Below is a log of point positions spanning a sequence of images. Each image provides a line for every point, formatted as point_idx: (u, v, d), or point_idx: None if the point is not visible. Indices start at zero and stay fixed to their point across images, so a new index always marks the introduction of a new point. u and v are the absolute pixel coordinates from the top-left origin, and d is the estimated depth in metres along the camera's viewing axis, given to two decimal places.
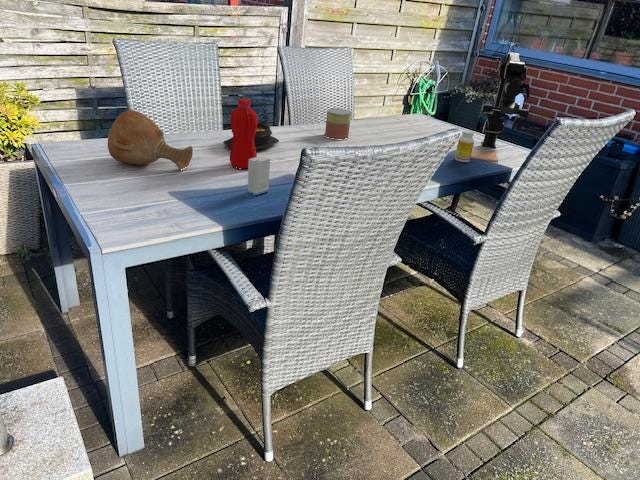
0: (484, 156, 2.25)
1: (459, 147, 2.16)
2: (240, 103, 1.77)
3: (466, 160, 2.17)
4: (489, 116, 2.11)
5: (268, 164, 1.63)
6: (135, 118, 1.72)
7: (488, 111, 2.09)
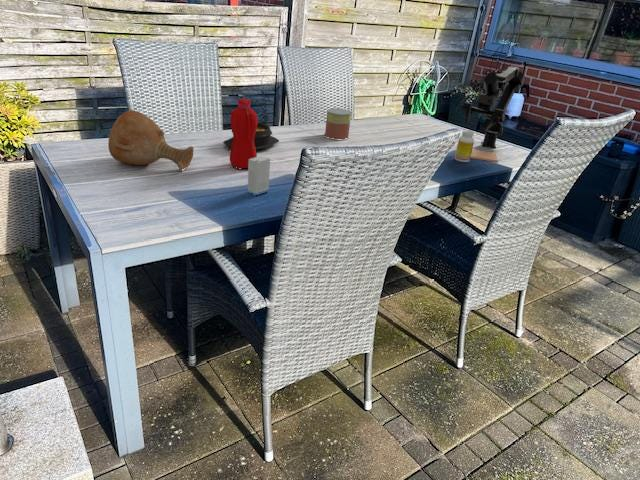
0: (484, 156, 2.25)
1: (459, 147, 2.16)
2: (240, 103, 1.77)
3: (466, 160, 2.17)
4: (467, 111, 2.22)
5: (268, 164, 1.63)
6: (136, 119, 1.72)
7: (467, 105, 2.22)
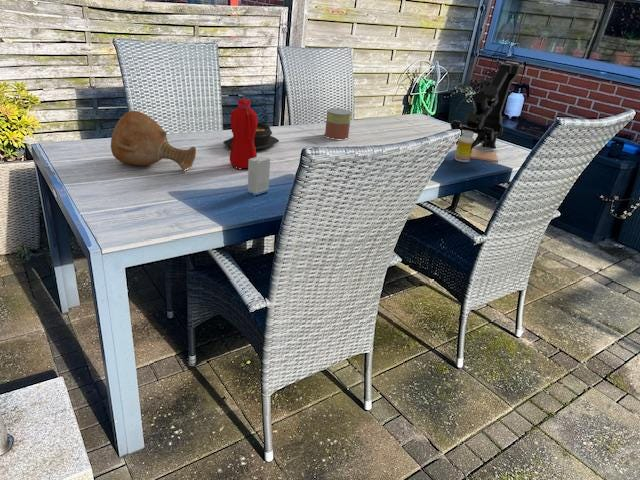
0: (484, 156, 2.25)
1: (459, 147, 2.16)
2: (240, 103, 1.77)
3: (466, 160, 2.17)
4: None
5: (268, 164, 1.63)
6: (138, 119, 1.71)
7: (456, 123, 2.18)
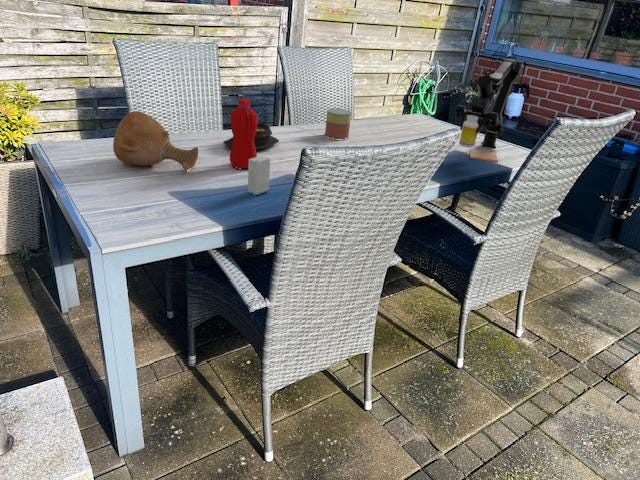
0: (484, 156, 2.25)
1: (464, 132, 2.13)
2: (240, 103, 1.77)
3: (471, 145, 2.15)
4: (463, 115, 2.15)
5: (268, 164, 1.63)
6: (140, 119, 1.71)
7: (460, 108, 2.16)
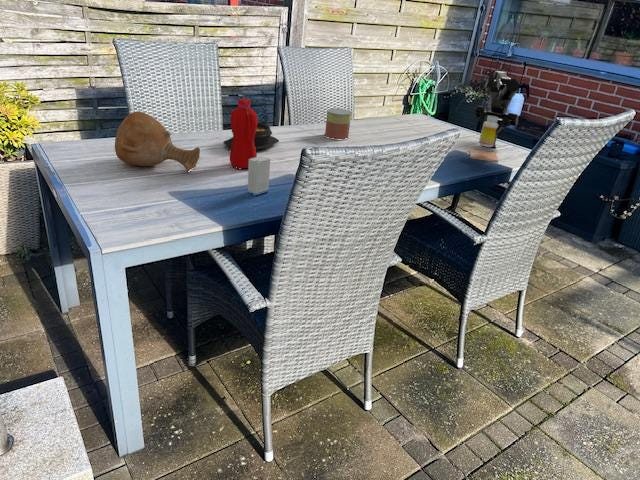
0: (484, 156, 2.25)
1: (484, 132, 2.22)
2: (240, 103, 1.77)
3: (490, 145, 2.23)
4: (483, 115, 2.24)
5: (268, 164, 1.63)
6: (142, 120, 1.71)
7: (480, 109, 2.24)
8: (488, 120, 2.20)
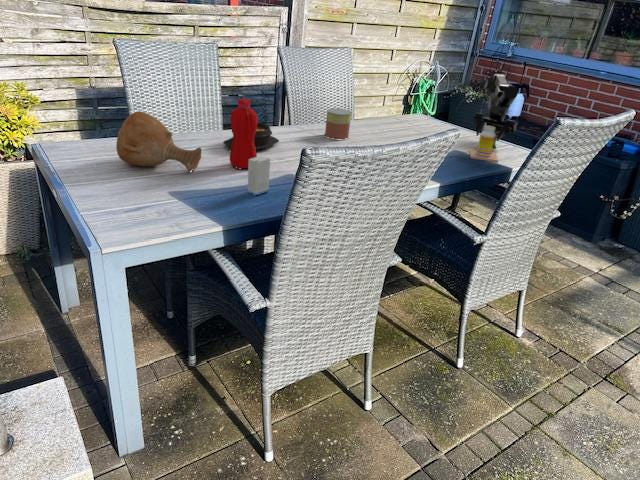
0: (484, 156, 2.25)
1: (481, 142, 2.24)
2: (240, 103, 1.77)
3: (488, 154, 2.25)
4: (479, 122, 2.26)
5: (268, 164, 1.63)
6: (144, 120, 1.71)
7: (478, 116, 2.25)
8: (485, 130, 2.22)
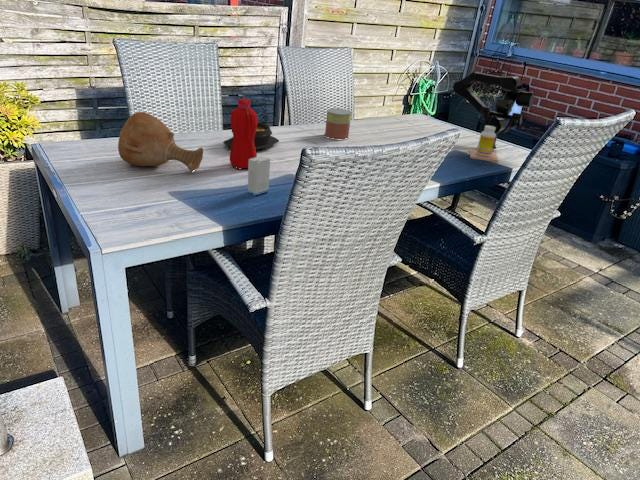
0: (484, 156, 2.25)
1: (481, 142, 2.24)
2: (240, 103, 1.77)
3: (488, 154, 2.25)
4: (485, 115, 2.31)
5: (268, 164, 1.63)
6: (146, 120, 1.71)
7: (485, 109, 2.31)
8: (485, 130, 2.22)
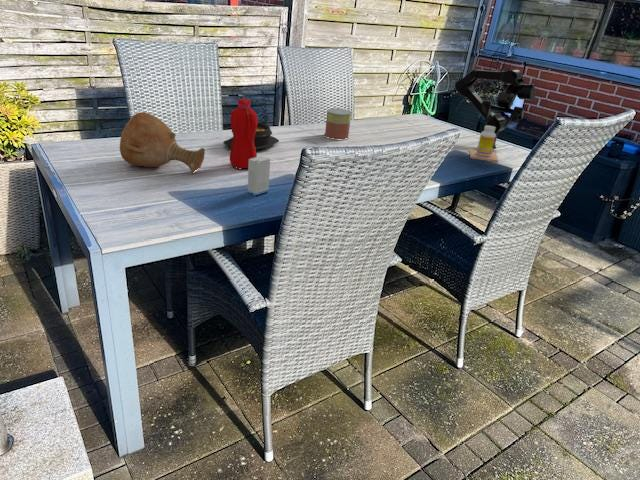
0: (484, 156, 2.25)
1: (481, 142, 2.24)
2: (240, 103, 1.77)
3: (488, 154, 2.25)
4: (487, 109, 2.29)
5: (268, 164, 1.63)
6: (147, 121, 1.71)
7: (486, 103, 2.29)
8: (485, 130, 2.22)
